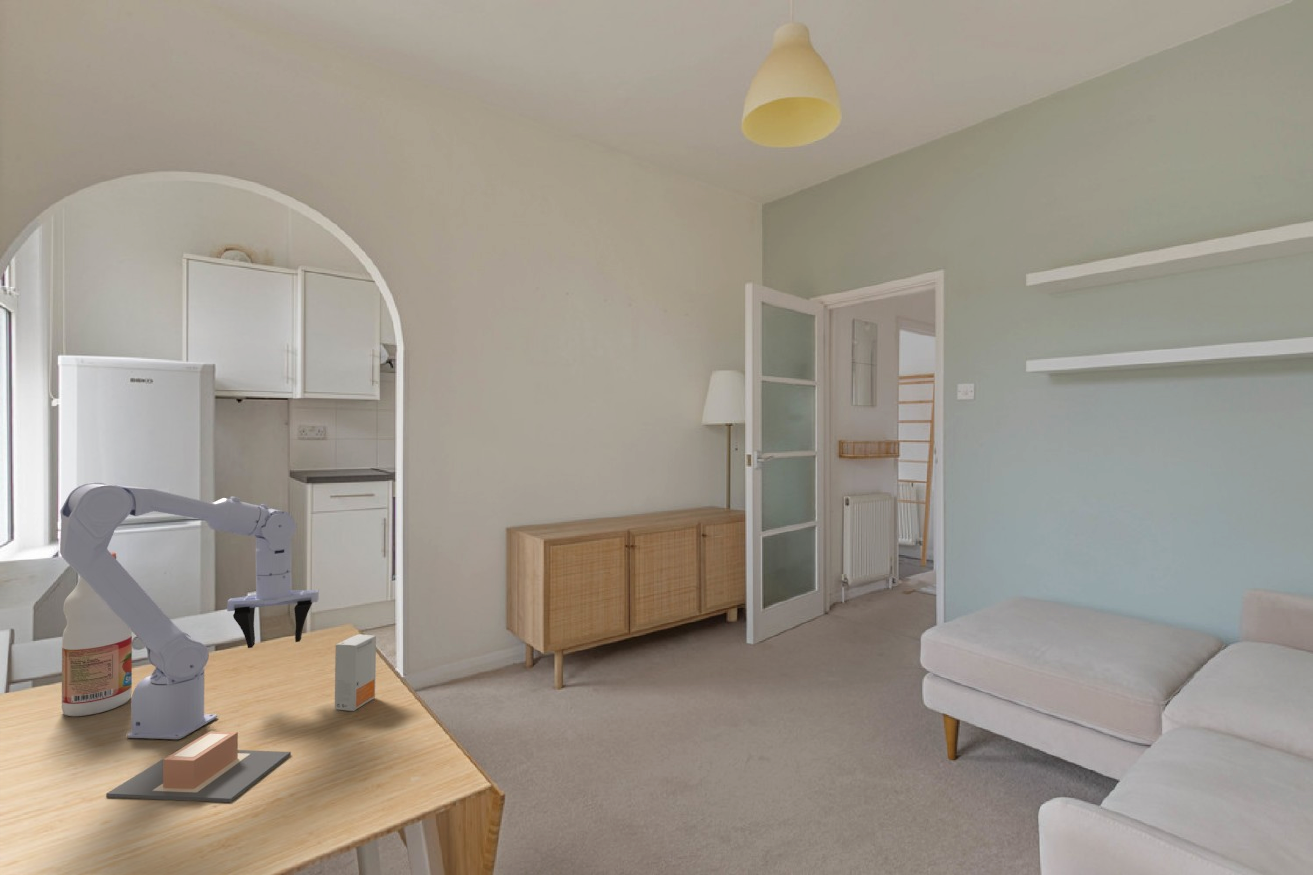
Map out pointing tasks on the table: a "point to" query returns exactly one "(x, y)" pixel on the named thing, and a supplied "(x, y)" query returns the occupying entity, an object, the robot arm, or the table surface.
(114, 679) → the fruit juice
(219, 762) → the pink box with label
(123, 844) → the table surface
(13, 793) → the table surface
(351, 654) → the skincare box
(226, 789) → the charcoal mat
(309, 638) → the table surface
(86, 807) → the table surface
